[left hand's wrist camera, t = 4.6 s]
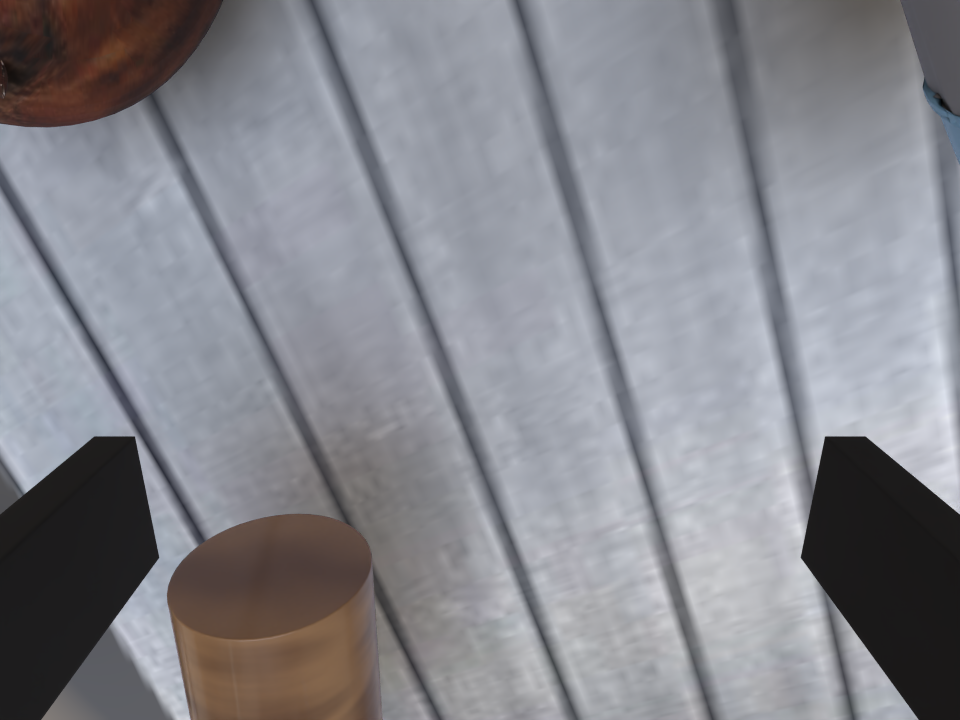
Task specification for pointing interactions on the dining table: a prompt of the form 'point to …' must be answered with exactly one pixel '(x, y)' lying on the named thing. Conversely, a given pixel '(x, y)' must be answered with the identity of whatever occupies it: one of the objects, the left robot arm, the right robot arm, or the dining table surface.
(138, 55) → the cat face balloon
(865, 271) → the dining table surface
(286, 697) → the rod
